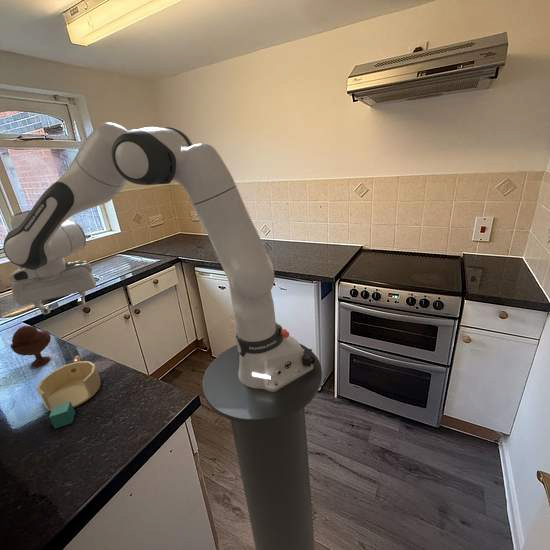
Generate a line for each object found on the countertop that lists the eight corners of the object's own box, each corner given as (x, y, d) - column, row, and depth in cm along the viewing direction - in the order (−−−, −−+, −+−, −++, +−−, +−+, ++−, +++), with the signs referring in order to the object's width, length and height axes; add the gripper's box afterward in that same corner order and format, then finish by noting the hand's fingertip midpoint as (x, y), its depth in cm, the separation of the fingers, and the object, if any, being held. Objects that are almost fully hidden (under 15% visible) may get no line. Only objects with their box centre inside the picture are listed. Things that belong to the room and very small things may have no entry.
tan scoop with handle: (104, 359, 102) (99, 344, 100) (98, 399, 84) (91, 382, 82) (57, 373, 97) (50, 358, 95) (39, 419, 79) (30, 401, 77)
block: (70, 400, 79) (67, 411, 76) (75, 412, 81) (72, 422, 77) (52, 406, 78) (48, 417, 75) (58, 417, 79) (54, 429, 76)
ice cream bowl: (66, 355, 107) (50, 319, 101) (32, 375, 98) (13, 337, 92) (48, 350, 111) (33, 315, 106) (14, 369, 102) (-5, 331, 97)
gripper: (89, 256, 93) (103, 296, 98) (10, 271, 86) (29, 313, 91) (87, 261, 88) (101, 303, 93) (1, 278, 80) (22, 322, 85)
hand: (65, 308), depth 92 cm, fingers open, 8 cm apart
